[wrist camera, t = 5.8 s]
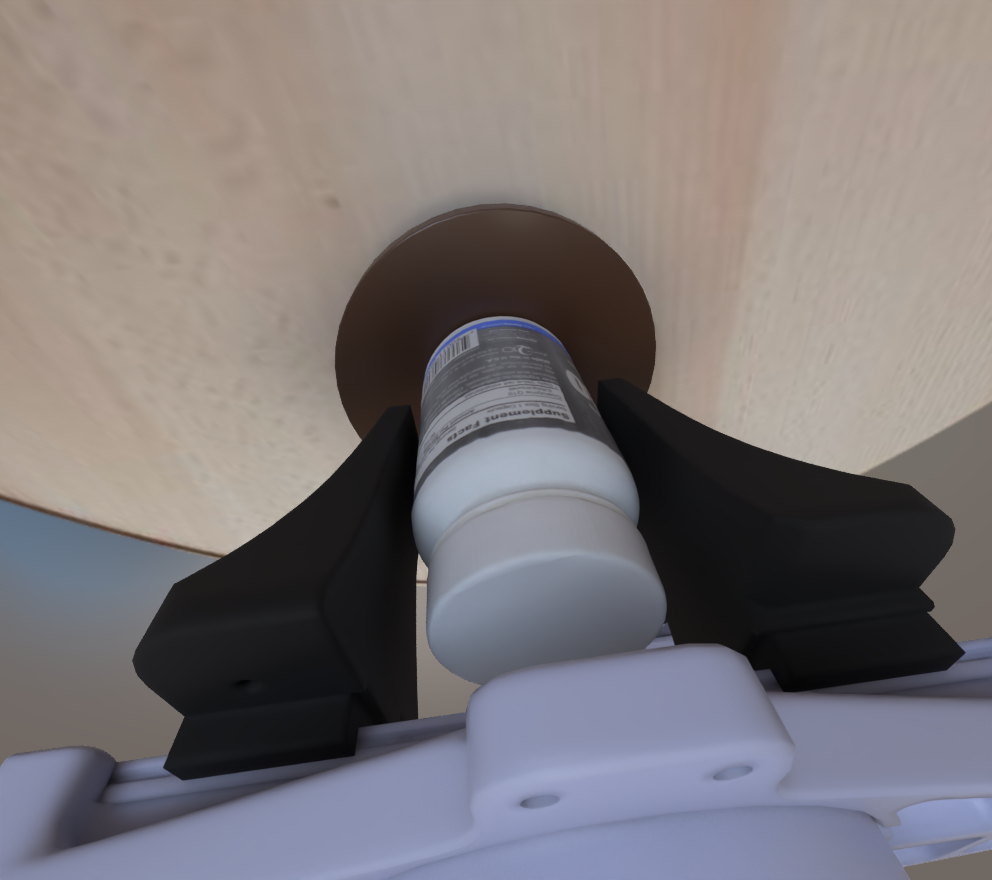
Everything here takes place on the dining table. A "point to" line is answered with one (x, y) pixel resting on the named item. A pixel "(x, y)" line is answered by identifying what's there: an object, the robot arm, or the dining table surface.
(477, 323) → the pill bottle
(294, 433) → the dining table surface
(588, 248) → the stand
